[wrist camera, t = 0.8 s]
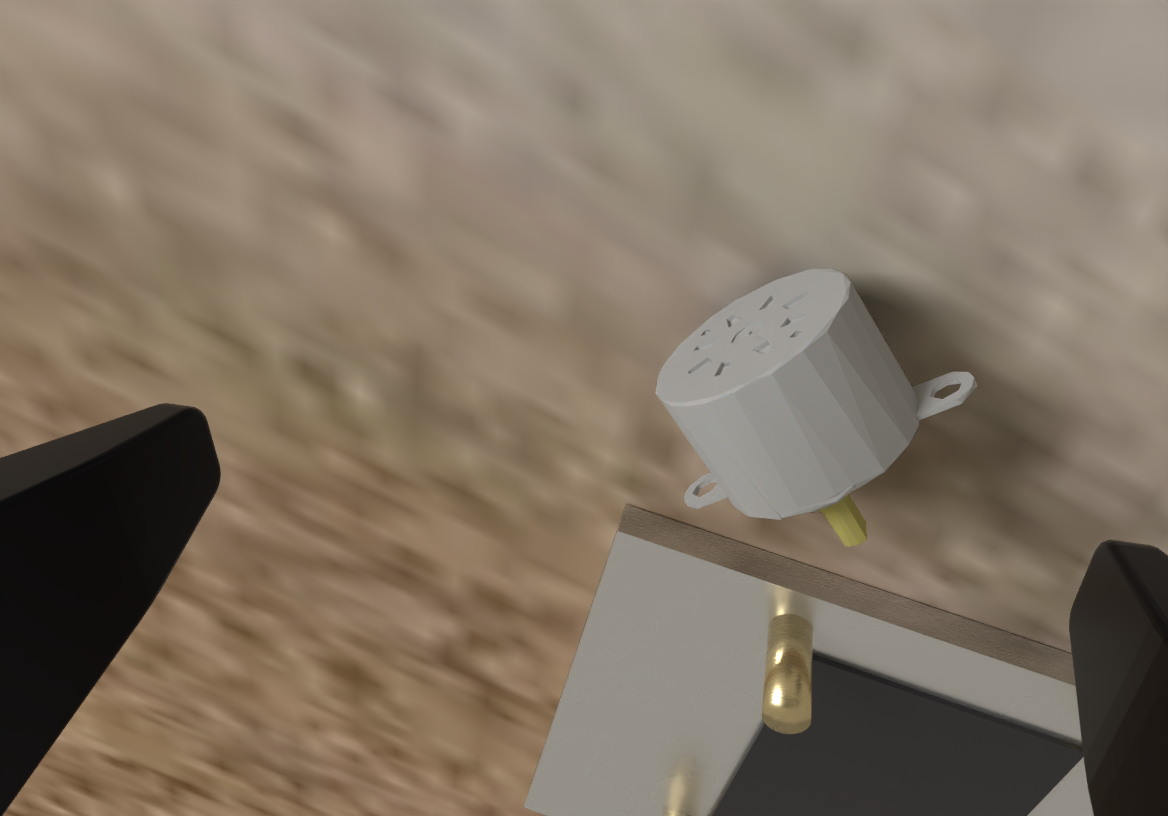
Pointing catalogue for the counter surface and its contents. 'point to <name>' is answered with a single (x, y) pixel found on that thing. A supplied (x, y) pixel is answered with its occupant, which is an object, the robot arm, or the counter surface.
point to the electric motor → (796, 401)
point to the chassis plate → (797, 696)
